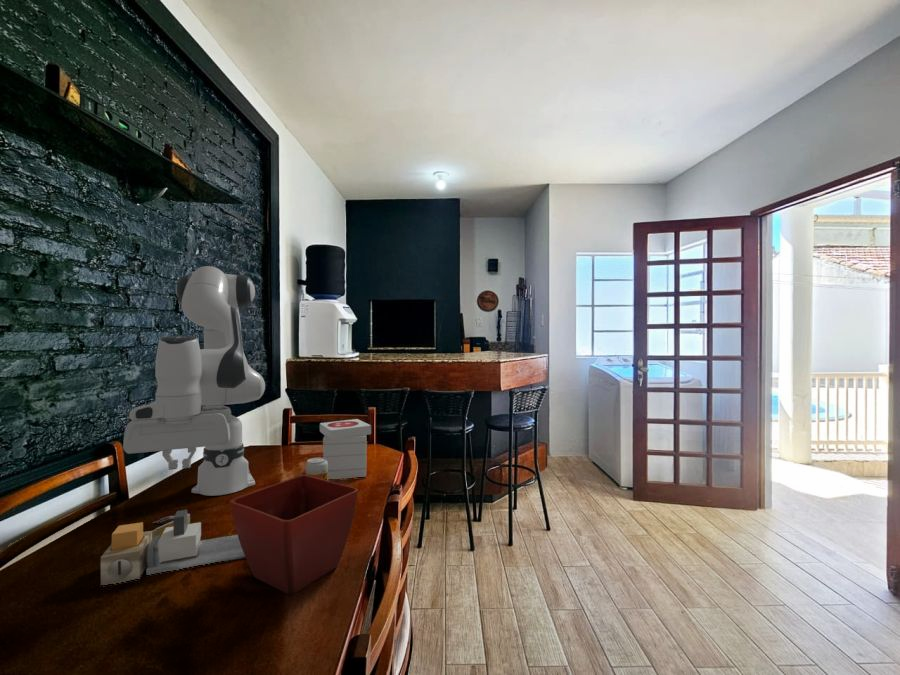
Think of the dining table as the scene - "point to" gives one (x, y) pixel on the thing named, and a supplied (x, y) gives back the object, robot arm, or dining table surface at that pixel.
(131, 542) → the orange cube
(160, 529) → the sunglasses
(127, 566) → the box
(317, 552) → the plant pot
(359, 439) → the pizza boxes
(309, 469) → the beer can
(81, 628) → the dining table surface
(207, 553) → the rail
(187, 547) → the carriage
